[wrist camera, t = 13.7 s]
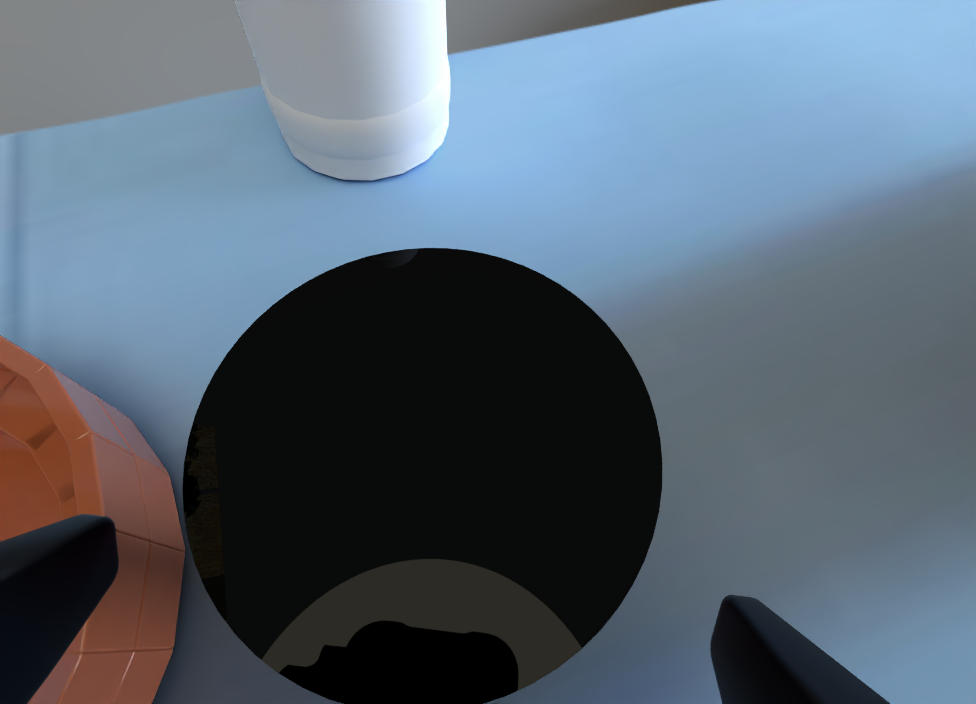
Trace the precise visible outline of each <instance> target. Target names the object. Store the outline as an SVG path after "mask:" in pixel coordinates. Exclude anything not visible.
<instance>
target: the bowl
mask: <svg viewBox="0 0 976 704" xmlns="http://www.w3.org/2000/svg"><path fill="white" fill-rule="evenodd" d="M79 514H91V515H99V516H107V517H109V518H111V519H112V520H113V522H114V523H115V527H116V537H117V546H118V556H119V568H118V572H117V575H116V578H115V580H114V582H113V583H112V585H111V586H110V588H109V589H108V591H107V592H106V593H105V595H104V596H103V598H102V599H101V601H100V602H99V604H98V605H97V607H96V608H95V609H94V611H93V612H92V614H91V615H90V617H89V618H88V620H87V621H86V623H85V624H84V625H83V627H82V628H81V630H80V631H79V633H78V634H77V636H76V637H75V639H74V640H73V641H72V643H71V644H70V646H69V647H68V649H67V650H66V652H65V653H64V655H63V656H62V657H61V659H60V660H59V662H58V663H57V665H56V666H55V668H54V669H53V670H52V672H51V673H50V674H49V676H48V677H47V678H46V680H45V681H44V683H43V684H42V685H41V687H40V688H39V689H38V690H37V692H36V693H35V694H34V696H33V697H32V698H31V699H30V701H29V702H28V703H27V704H152V702H153V700H154V697H155V695H156V692H157V690H158V687H159V685H160V682H161V680H162V677H163V675H164V672H165V670H166V667H167V665H168V663H169V660H170V658H171V655H172V653H173V649H172V648H173V647H174V643H175V634H176V626H177V618H178V609H179V601H180V593H181V584H182V576H183V568H184V560H185V546H184V541H183V536H182V531H181V527H180V522H179V517H178V513H177V508H176V503H175V499H174V494H173V489H172V484H171V480H170V476H169V474H168V472H167V470H166V469H165V467H164V466H163V464H162V463H161V462H160V460H159V459H158V457H157V456H156V454H155V453H154V451H153V450H152V449H151V447H150V446H149V444H148V443H147V441H146V440H145V438H144V437H143V436H142V434H141V433H140V431H139V430H138V428H137V427H136V425H135V424H134V423H133V421H132V420H131V419H130V418H129V417H128V416H126V415H125V414H123V413H122V412H120V411H119V410H117V409H115V408H114V407H112V406H111V405H109V404H108V403H106V402H105V401H103V400H102V399H100V398H99V397H97V396H96V395H94V394H93V393H91V392H90V391H88V390H86V389H85V388H83V387H82V386H80V385H79V384H77V383H76V382H74V381H73V380H71V379H70V378H68V377H67V376H65V375H64V374H62V373H61V372H59V371H57V370H56V369H54V368H53V367H51V366H50V365H48V364H47V363H45V362H43V361H42V360H40V359H39V358H37V357H35V356H34V355H32V354H30V353H29V352H27V351H25V350H24V349H22V348H21V347H19V346H17V345H16V344H14V343H12V342H11V341H9V340H7V339H6V338H4V337H3V336H1V335H0V541H3V540H6V539H9V538H12V537H15V536H18V535H21V534H24V533H27V532H29V531H32V530H35V529H38V528H41V527H44V526H47V525H50V524H53V523H56V522H58V521H61V520H64V519H67V518H70V517H73V516H76V515H79Z"/></svg>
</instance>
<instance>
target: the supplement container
mask: <svg viewBox="0 0 976 704" xmlns="http://www.w3.org/2000/svg"><path fill="white" fill-rule="evenodd" d="M661 491H662V454H661V442H660V436H659V431H658V426H657V420H656V416H655V413H654V409H653V406H652V403H651V400H650V396H649V394H648V391H647V389H646V387H645V384H644V382H643V379H642V377H641V375H640V373H639V371H638V369H637V368H636V366H635V364H634V362H633V360H632V358H631V357H630V355H629V354H628V352H627V351H626V349H625V348H624V346H623V345H622V343H621V342H620V340H619V339H618V338H617V336H616V335H615V334H614V333H613V331H612V330H611V329H610V328H609V327H608V325H607V324H606V323H605V322H604V321H603V320H602V319H601V318H600V317H599V316H598V315H597V314H596V313H595V312H594V311H593V310H592V309H591V308H590V307H589V306H587V305H586V304H585V303H584V302H583V301H582V300H580V299H579V298H578V297H577V296H576V295H574V294H573V293H571V292H570V291H568V290H567V289H565V288H564V287H563V286H561V285H560V284H558V283H556V282H555V281H553V280H551V279H549V278H548V277H546V276H544V275H542V274H540V273H538V272H536V271H534V270H532V269H530V268H527V267H525V266H523V265H520V264H517V263H515V262H512V261H509V260H506V259H503V258H499V257H496V256H492V255H488V254H484V253H478V252H473V251H467V250H458V249H448V248H420V249H405V250H399V251H392V252H386V253H381V254H377V255H373V256H368V257H365V258H361V259H358V260H355V261H352V262H349V263H346V264H343V265H341V266H339V267H336V268H334V269H331V270H329V271H327V272H325V273H323V274H321V275H319V276H317V277H315V278H313V279H311V280H309V281H307V282H306V283H304V284H302V285H301V286H299V287H298V288H296V289H294V290H293V291H291V292H290V293H288V294H287V295H286V296H284V297H283V298H282V299H280V300H279V301H278V302H276V303H275V304H274V305H272V306H271V307H270V308H269V309H268V310H267V311H266V312H264V313H263V314H262V315H261V316H260V317H259V318H258V319H257V320H256V321H255V322H254V323H253V324H252V325H251V326H250V327H249V328H248V329H247V330H246V331H245V332H244V333H243V334H242V336H241V337H240V338H239V339H238V341H237V342H236V343H235V344H234V346H233V347H232V348H231V349H230V351H229V352H228V353H227V355H226V356H225V358H224V359H223V361H222V362H221V364H220V366H219V367H218V369H217V370H216V372H215V373H214V375H213V377H212V379H211V381H210V383H209V385H208V387H207V389H206V391H205V393H204V395H203V397H202V400H201V402H200V405H199V407H198V410H197V412H196V415H195V418H194V421H193V425H192V428H191V432H190V435H189V439H188V445H187V450H186V456H185V462H184V474H183V509H184V518H185V525H186V531H187V537H188V541H189V545H190V548H191V552H192V555H193V559H194V563H195V565H196V568H197V570H198V573H199V575H200V577H201V580H202V582H203V584H204V587H205V589H206V591H207V593H208V594H209V596H210V598H211V600H212V601H213V603H214V605H215V607H216V608H217V610H218V612H219V613H220V615H221V616H222V617H223V619H224V620H225V621H226V623H227V624H228V625H229V627H230V628H231V629H232V631H233V632H234V633H235V634H236V635H237V636H238V638H239V639H240V640H241V641H242V642H243V643H244V644H245V645H246V646H247V647H248V648H249V649H250V650H251V651H252V652H253V653H254V654H255V655H256V656H258V657H259V658H260V659H261V660H263V661H264V662H265V663H266V664H268V665H269V666H270V667H271V668H273V669H274V670H275V671H276V672H278V673H279V674H281V675H283V676H284V677H286V678H288V679H289V680H291V681H293V682H294V683H296V684H297V685H299V686H301V687H303V688H305V689H307V690H309V691H312V692H314V693H316V694H318V695H321V696H323V697H325V698H327V699H330V700H333V701H337V702H340V703H343V704H483V703H486V702H489V701H492V700H495V699H498V698H501V697H504V696H507V695H509V694H511V693H513V692H516V691H518V690H520V689H522V688H524V687H526V686H528V685H530V684H533V683H534V682H536V681H537V680H539V679H541V678H542V677H544V676H546V675H547V674H549V673H550V672H552V671H554V670H555V669H557V668H558V667H560V666H561V665H562V664H563V663H565V662H566V661H567V660H568V659H570V658H571V657H572V656H573V655H575V654H576V653H577V652H578V651H580V650H581V649H582V648H583V647H584V646H585V645H586V644H587V643H588V642H589V641H590V640H591V639H592V638H593V637H594V636H595V635H596V634H597V633H598V632H599V631H600V630H601V629H602V628H603V626H604V625H605V624H606V623H607V621H608V620H609V619H610V618H611V616H612V615H613V614H614V613H615V611H616V610H617V609H618V608H619V606H620V604H621V603H622V601H623V600H624V598H625V596H626V595H627V593H628V592H629V590H630V588H631V587H632V585H633V583H634V581H635V579H636V577H637V575H638V573H639V571H640V569H641V567H642V565H643V563H644V561H645V558H646V555H647V552H648V549H649V546H650V544H651V541H652V538H653V535H654V530H655V526H656V522H657V518H658V513H659V507H660V499H661Z"/></svg>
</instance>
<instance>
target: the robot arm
mask: <svg viewBox="0 0 976 704" xmlns="http://www.w3.org/2000/svg"><path fill="white" fill-rule="evenodd" d="M118 568H119V556H118V546H117V537H116V527H115V523H114V522H113V520H112V519H111V518H109V517H107V516H99V515H91V514H79V515H76V516H73V517H70V518H67V519H64V520H61V521H58V522H56V523H53V524H50V525H47V526H44V527H41V528H38V529H35V530H32V531H29V532H27V533H24V534H21V535H18V536H15V537H12V538H9V539H6V540H3V541H0V704H27V703H28V702H29V701H30V699H31V698H32V697H33V696H34V694H35V693H36V692H37V690H38V689H39V688H40V687H41V685H42V684H43V683H44V681H45V680H46V678H47V677H48V676H49V674H50V673H51V672H52V670H53V669H54V668H55V666H56V665H57V663H58V662H59V660H60V659H61V657H62V656H63V655H64V653H65V652H66V650H67V649H68V647H69V646H70V644H71V643H72V641H73V640H74V639H75V637H76V636H77V634H78V633H79V631H80V630H81V628H82V627H83V625H84V624H85V623H86V621H87V620H88V618H89V617H90V615H91V614H92V612H93V611H94V609H95V608H96V607H97V605H98V604H99V602H100V601H101V599H102V598H103V596H104V595H105V593H106V592H107V591H108V589H109V588H110V586H111V585H112V583H113V582H114V580H115V578H116V575H117V572H118ZM710 650H711V658H712V662H713V666H714V671H715V675H716V679H717V683H718V687H719V691H720V696H721V700H722V704H890V703H889V702H888V701H886V700H885V699H884V698H882V697H881V696H880V695H879V694H877V693H876V692H875V691H874V690H872V689H871V688H870V687H868V686H867V685H866V684H865V683H863V682H862V681H861V680H860V679H858V678H857V677H856V676H854V675H853V674H852V673H851V672H849V671H848V670H847V669H846V668H844V667H843V666H842V665H840V664H839V663H838V662H837V661H835V660H834V659H833V658H831V657H830V656H829V655H828V654H826V653H825V652H824V651H823V650H821V649H820V648H819V647H817V646H816V645H815V644H814V643H812V642H811V641H810V640H809V639H807V638H806V637H805V636H803V635H802V634H801V633H800V632H798V631H797V630H796V629H795V628H793V627H792V626H791V625H789V624H788V623H787V622H786V621H784V620H783V619H782V618H780V617H779V616H778V615H777V614H775V613H774V612H773V611H772V610H770V609H769V608H768V607H766V606H765V605H764V604H763V603H761V602H760V601H759V600H757V599H755V598H752V597H745V596H737V595H728V596H726V597H725V598H724V599H723V601H722V603H721V606H720V610H719V613H718V617H717V620H716V624H715V627H714V631H713V634H712V638H711V645H710Z"/></svg>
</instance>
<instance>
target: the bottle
mask: <svg viewBox="0 0 976 704" xmlns="http://www.w3.org/2000/svg"><path fill="white" fill-rule="evenodd" d="M234 3H235V5H236V8H237V11H238V14H239V17H240V19H241V22H242V25H243V28H244V30H245V33H246V36H247V39H248V42H249V44H250V47H251V50H252V53H253V55H254V58H255V61H256V64H257V66H258V69H259V72H260V81H261V84H262V88H263V91H264V94H265V97H266V99H267V102H268V104H269V107H270V109H271V111H272V113H273V115H274V117H275V119H276V120H277V122H278V125H279V128H280V130H281V133H282V136H283V138H284V140H285V142H286V144H287V145H288V147H289V149H290V151H291V152H292V154H293V156H294V157H295V158H297V159H298V160H300V161H301V162H302V163H304V164H305V165H307V166H308V167H309V168H311V169H312V170H313V171H316V172H319V173H322V174H326V175H329V176H332V177H335V178H339V179H342V180H377V179H382V178H386V177H390V176H395V175H399V174H403V173H405V172H407V171H408V170H410V169H412V168H414V167H416V166H418V165H419V164H421V163H423V162H425V161H427V160H428V159H429V158H430V157H431V155H432V154H433V153H434V152H435V151H436V150H437V149H438V148H439V147H440V145H441V144H442V143H443V141H444V138H445V134H446V131H447V128H448V125H449V108H448V103H449V100H450V69H449V62H448V58H447V36H446V35H447V34H446V1H445V0H234Z"/></svg>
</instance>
